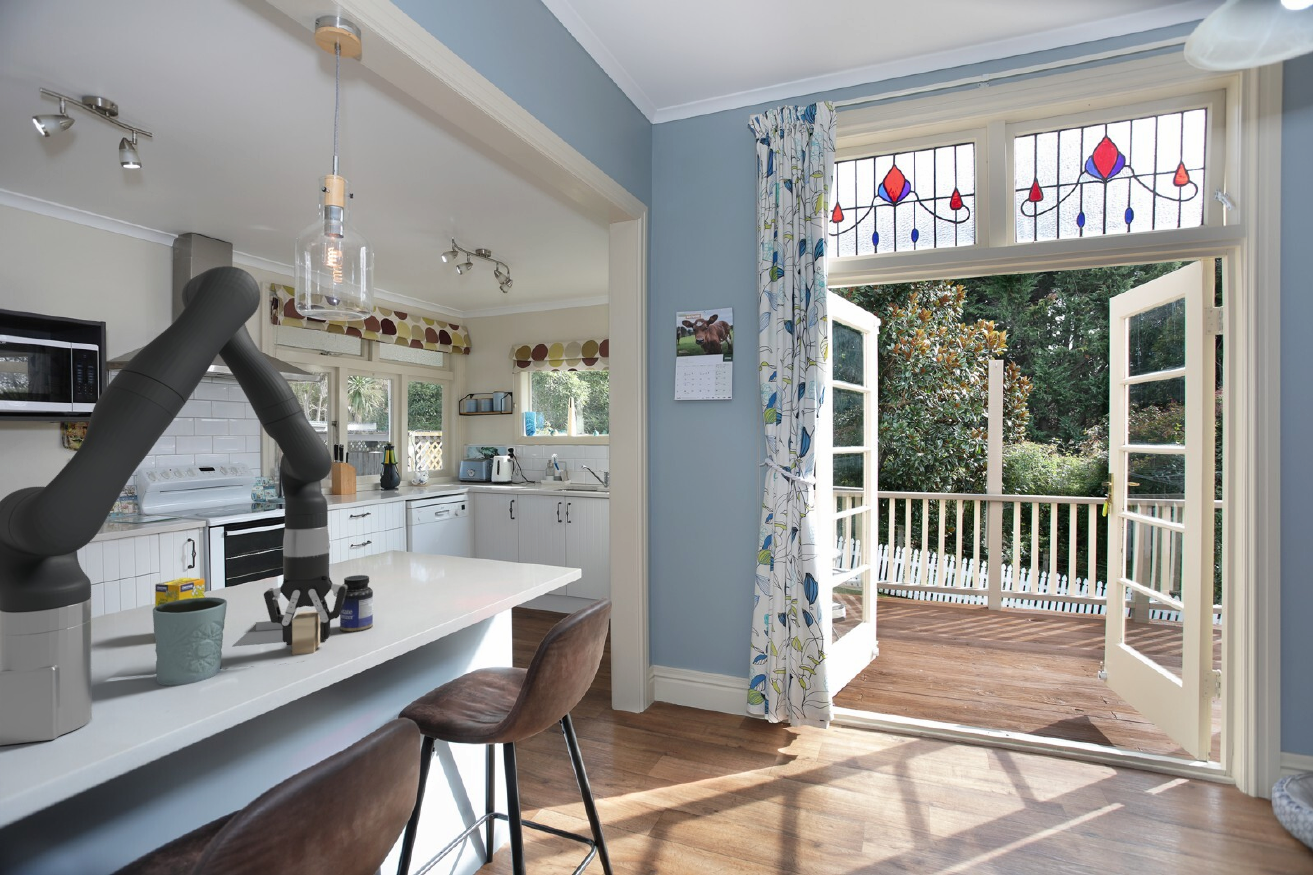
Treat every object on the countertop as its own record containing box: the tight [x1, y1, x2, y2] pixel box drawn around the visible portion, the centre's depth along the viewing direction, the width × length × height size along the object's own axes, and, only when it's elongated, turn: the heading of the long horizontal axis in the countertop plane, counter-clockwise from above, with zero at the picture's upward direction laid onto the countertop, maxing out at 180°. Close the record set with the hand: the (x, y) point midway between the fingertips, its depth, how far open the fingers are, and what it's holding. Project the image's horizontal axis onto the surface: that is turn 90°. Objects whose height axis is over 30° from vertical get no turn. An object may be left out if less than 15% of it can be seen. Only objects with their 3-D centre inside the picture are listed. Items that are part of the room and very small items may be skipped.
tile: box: [255, 606, 316, 631], centre depth 135 cm, size 2×9×9 cm
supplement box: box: [154, 577, 206, 608], centre depth 129 cm, size 6×6×11 cm
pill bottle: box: [339, 574, 374, 634], centre depth 132 cm, size 6×6×11 cm
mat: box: [232, 618, 321, 647], centre depth 132 cm, size 19×14×1 cm
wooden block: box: [291, 610, 322, 656], centre depth 123 cm, size 13×4×7 cm, turn 16°
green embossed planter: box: [152, 596, 228, 686], centre depth 108 cm, size 10×10×12 cm
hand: (306, 642), depth 119 cm, fingers open, 5 cm apart
